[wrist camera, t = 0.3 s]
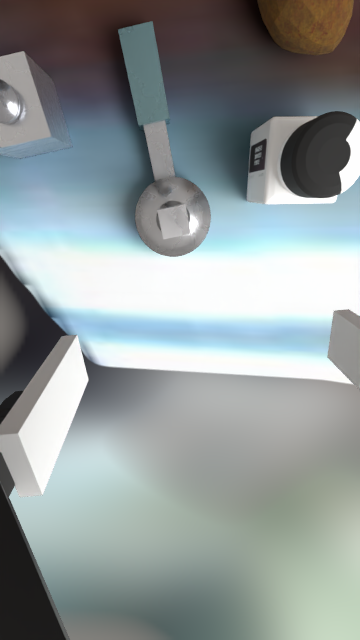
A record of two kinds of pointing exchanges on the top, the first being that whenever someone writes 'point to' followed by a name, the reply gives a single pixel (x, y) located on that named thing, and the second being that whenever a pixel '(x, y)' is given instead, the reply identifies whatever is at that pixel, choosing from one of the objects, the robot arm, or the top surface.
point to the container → (303, 159)
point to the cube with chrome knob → (29, 110)
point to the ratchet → (160, 156)
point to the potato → (306, 23)
